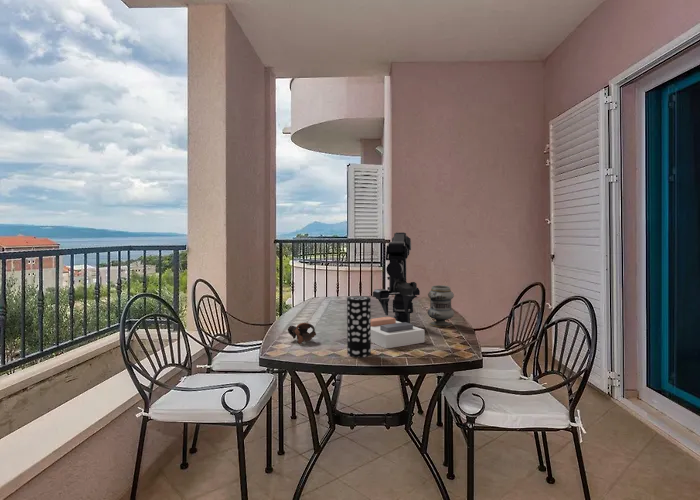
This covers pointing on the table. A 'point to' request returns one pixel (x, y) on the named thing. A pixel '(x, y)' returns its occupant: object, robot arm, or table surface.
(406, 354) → the table surface
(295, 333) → the brown toy animal
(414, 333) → the white tray
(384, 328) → the dark grey rectangular block
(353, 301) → the white-spotted black cylinder
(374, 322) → the salmon orange rectangular block
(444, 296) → the apothecary jar
